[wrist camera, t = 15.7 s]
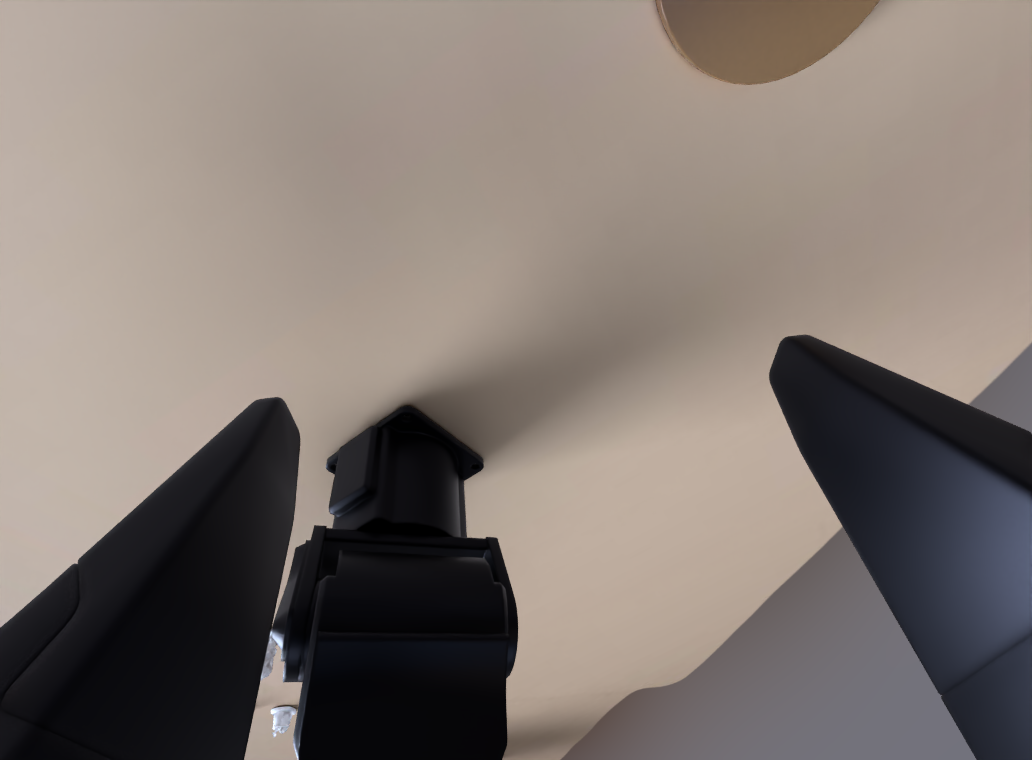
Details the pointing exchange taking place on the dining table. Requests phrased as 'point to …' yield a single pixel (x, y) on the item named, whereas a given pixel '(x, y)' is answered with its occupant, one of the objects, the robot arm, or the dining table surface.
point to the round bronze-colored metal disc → (759, 34)
